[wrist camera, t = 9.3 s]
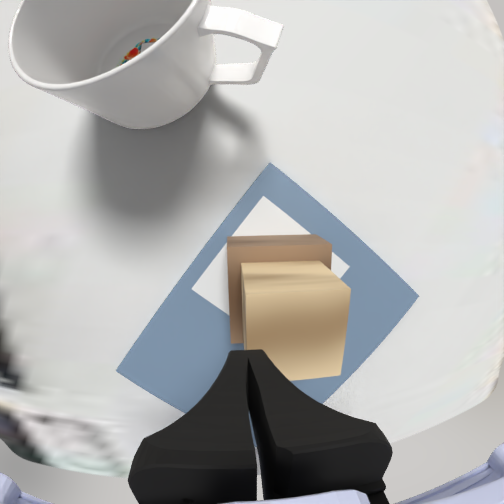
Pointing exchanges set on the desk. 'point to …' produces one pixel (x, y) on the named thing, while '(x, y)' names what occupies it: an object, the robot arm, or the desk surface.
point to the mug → (133, 54)
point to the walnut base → (267, 251)
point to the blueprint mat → (217, 299)
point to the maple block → (296, 316)
